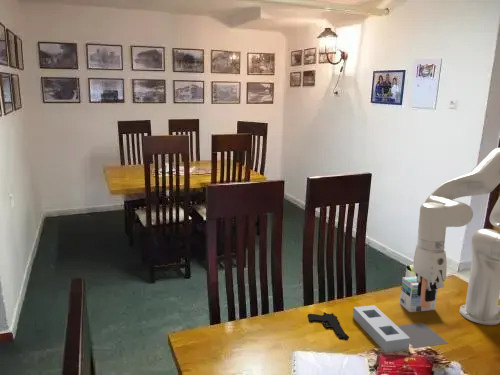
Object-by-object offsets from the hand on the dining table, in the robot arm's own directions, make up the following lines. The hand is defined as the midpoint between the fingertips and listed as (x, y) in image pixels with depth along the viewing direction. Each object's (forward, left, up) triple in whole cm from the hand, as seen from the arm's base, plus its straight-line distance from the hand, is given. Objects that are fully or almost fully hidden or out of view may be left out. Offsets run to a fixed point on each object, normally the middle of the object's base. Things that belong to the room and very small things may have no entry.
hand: (425, 297), depth 123 cm
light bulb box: (-10, -16, -13) cm, 23 cm away
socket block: (+13, -4, -13) cm, 19 cm away
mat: (+1, 0, -13) cm, 13 cm away
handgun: (+28, -11, -14) cm, 33 cm away
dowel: (0, 0, -3) cm, 3 cm away
